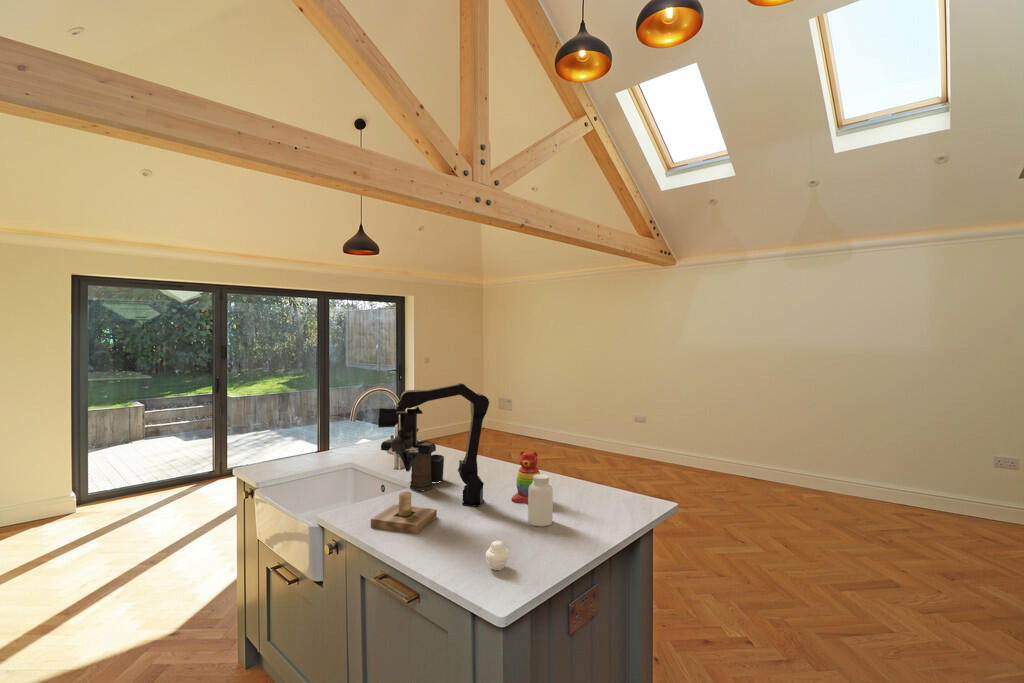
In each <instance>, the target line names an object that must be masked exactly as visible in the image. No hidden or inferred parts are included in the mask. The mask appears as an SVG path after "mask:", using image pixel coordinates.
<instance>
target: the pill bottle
mask: <svg viewBox="0 0 1024 683" xmlns="http://www.w3.org/2000/svg"><path fill="white" fill-rule="evenodd" d="M549 483H550V476H549V475H547V474H543V473H542V474H541V473H540V474H537V475H534V476H533V483H532V484H531V485H530V486H529V488H528V503H527V521H528V523H529V525H531V526H533V527H534V526H535V527H548V526H550V525H552V523H553V502H554V500H553V499H554V498H553V497H554V496H553V494H554V493H553V492H554V490H553V487H552V485H551V484H549Z"/></svg>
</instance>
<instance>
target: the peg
mask: <svg viewBox="0 0 1024 683" xmlns="http://www.w3.org/2000/svg"><path fill="white" fill-rule="evenodd" d="M398 505H399V509H398V517H405V518H409V517H410V516H411V506H412V492H411V491H401V492H399V493H398Z"/></svg>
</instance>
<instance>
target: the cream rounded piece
mask: <svg viewBox="0 0 1024 683" xmlns="http://www.w3.org/2000/svg"><path fill="white" fill-rule="evenodd" d="M509 556H510V552H509V550H508V548H506V547H505V544H504V542H503V541H501V540H494V541H492V542H491V543H490V547H489V548H488V549H487V550H486V552H485V558H486V561H487V563H488V566H489V567H490V569H491V570H492V569H494V570H499V571H502V570H503V569H505V568H504V567H505V566H506V564H507V562H508V560H509ZM501 569H502V570H501ZM494 570H493V571H494Z"/></svg>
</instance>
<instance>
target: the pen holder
mask: <svg viewBox="0 0 1024 683" xmlns="http://www.w3.org/2000/svg"><path fill="white" fill-rule="evenodd" d="M444 463H445V456H444V455H441V454H431V474H432V475H431V480H432V482H439V481H443V479H444V466H445V464H444Z"/></svg>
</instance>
